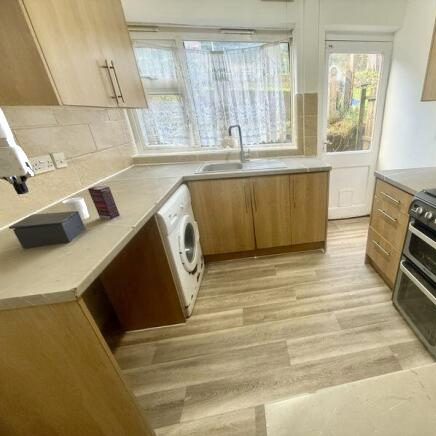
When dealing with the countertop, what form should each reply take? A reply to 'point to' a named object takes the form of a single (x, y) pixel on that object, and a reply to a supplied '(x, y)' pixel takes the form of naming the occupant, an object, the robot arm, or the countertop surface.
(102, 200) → the supplement box
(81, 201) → the white cup
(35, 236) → the box
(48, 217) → the lid
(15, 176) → the robot arm
